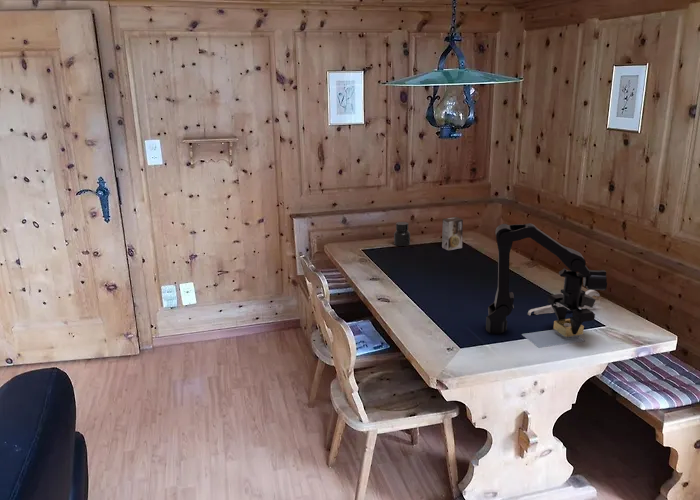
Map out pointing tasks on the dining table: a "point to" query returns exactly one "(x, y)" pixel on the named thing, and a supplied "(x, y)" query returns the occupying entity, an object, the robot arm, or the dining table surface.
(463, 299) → the dining table surface
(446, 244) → the coffee box
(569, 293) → the robot arm
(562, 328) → the tan square tray
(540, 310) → the wrench
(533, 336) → the board
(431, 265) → the dining table surface
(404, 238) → the ink bottle
